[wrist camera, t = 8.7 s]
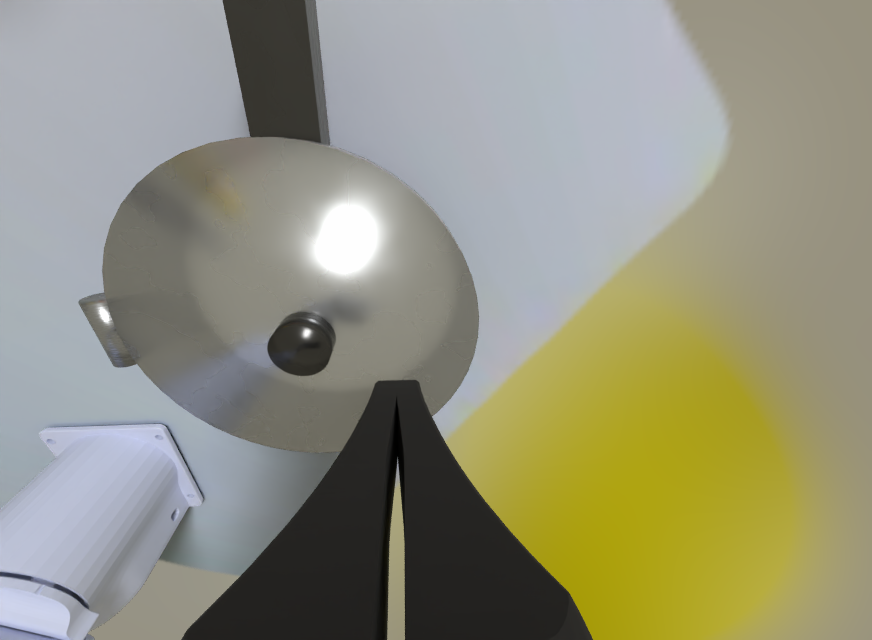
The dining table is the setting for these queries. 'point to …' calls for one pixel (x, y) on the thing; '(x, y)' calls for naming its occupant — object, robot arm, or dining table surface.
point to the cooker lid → (283, 289)
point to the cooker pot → (279, 67)
